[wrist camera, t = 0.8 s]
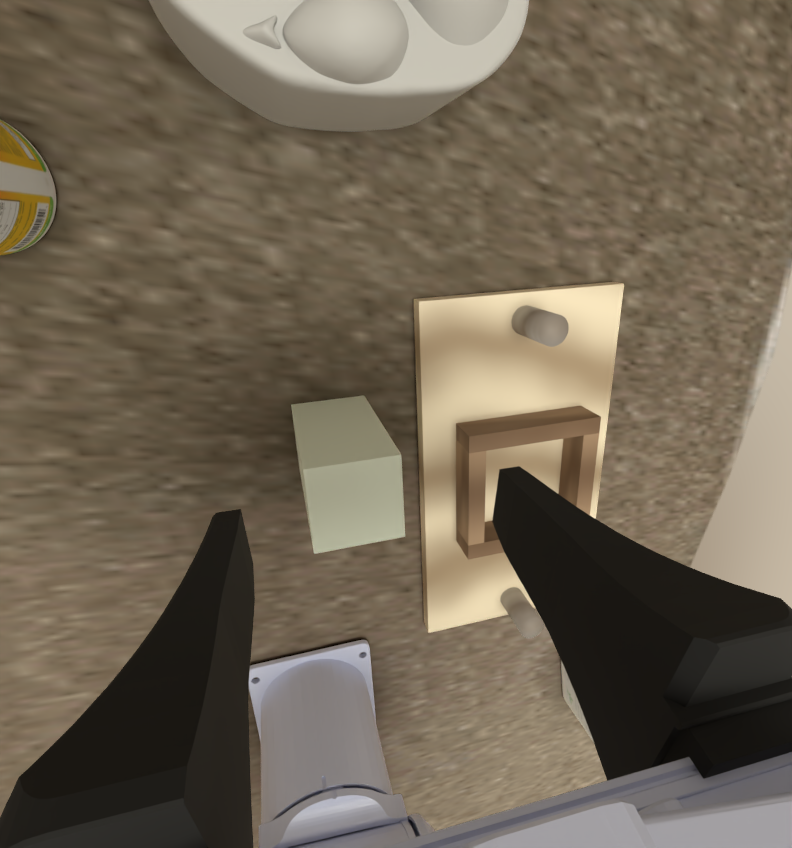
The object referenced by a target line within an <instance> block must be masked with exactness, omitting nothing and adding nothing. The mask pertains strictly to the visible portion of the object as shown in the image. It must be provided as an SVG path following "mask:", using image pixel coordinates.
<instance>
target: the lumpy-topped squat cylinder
mask: <svg viewBox="0 0 792 848" xmlns="http://www.w3.org/2000/svg"><path fill="white" fill-rule="evenodd" d="M149 2H150V4H151V6H152V8H153V10H154V12H155V14H156V16H157V17H158V19H159V21H160V23H161V24H162V26H163V27H164V29H165V30H166V32H167V33H168V35H169V36H170V38H171V39H172V40H173V42H174V43H175V44H176V46H177V47H178V48H179V49H180V51H181V52H182V53H183V54H184V56H185V57H186V58H187V59H188V60H189V62H190V63H191V64H192V65H193V66H194V67H195V68H196V69H197V70H198V71H199V72H200V73H201V74H202V75H203V76H204V77H205V78H207V79H208V80H209V81H210V82H212V83H213V84H214V85H215V86H217V87H218V88H219V89H221V90H222V91H224V92H225V93H226V94H228V95H229V96H231V97H232V98H234V99H235V100H237V101H238V102H240V103H241V104H243V105H244V106H246V107H247V108H249V109H251V110H252V111H254V112H255V113H257V114H259V115H261V116H262V117H264V118H266V119H268V120H270V121H272V122H274V123H277V124H281V125H285V126H290V127H296V128H304V129H312V130H324V131H342V132H360V131H370V130H387V129H396V128H402V127H406V126H410V125H412V124H415V123H417V122H419V121H421V120H423V119H425V118H426V117H428V116H429V115H431V114H433V113H434V112H436V111H437V110H439V109H440V108H442V107H443V106H445V105H447V104H448V103H450V102H451V101H453V100H454V99H456V98H457V97H459V96H460V95H462V94H464V93H465V92H467V91H468V90H469V89H471V88H472V87H474V86H476V85H477V84H479V83H481V82H482V81H484V80H485V79H487V78H488V77H489V76H491V75H492V74H493V73H494V72H495V71H496V70H497V69H498V68H499V67H500V66H501V65H502V64H503V63H504V61H505V60H506V59H507V58H508V56H509V55H510V54H511V52H512V51H513V49H514V48H515V46H516V44H517V42H518V41H519V39H520V36H521V34H522V31H523V28H524V25H525V21H526V17H527V12H528V4H529V0H149Z"/></svg>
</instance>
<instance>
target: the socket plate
mask: <svg viewBox="0 0 792 848" xmlns="http://www.w3.org/2000/svg"><path fill="white" fill-rule="evenodd" d="M623 289H624V284H623V283H617V282H605V283H594V284H582V285H571V286H559V287H547V288H536V289H524V290H512V291H501V292H489V293H478V294H466V295H454V296H443V297H431V298H419V299H413V300H414V331H415V361H416V392H417V423H418V453H419V484H420V515H421V545H422V576H423V607H424V624H425V626H426V628H427V631H428V633H431V632H435V631H439V630H444V629H448V628H452V627H456V626H461V625H465V624H469V623H474V622H478V621H482V620H486V619H491V618H495V617H499V616H503V615H508V614H509V616H510V617H511V619H512V620H513V622H514V624H515V625H516V627H517V628H518V630H519V631H520V633H521V634H522V636H523V637H525V638H533V637H535V636H537V635H538V634H540V633H541V631H542V630H543V627H544V622H543V621H542V619H541V618H540V616H539V615H538V614H537V612H536V611H535V610H534V608H536V607H535V606H534V604H533V602H532V600H531V599H530V597H529V595H528V593H527V592H526V590H525V588H524V586H523V585H522V583H521V581H520V579H519V578H518V576H517V574H516V572H515V570H514V569H513V567H512V565H511V563H510V562H509V560H508V558H507V556H506V554H505V552H504V550H503V548H502V545H501V543H500V541H499V538H498V535H497V533H496V530H495V528H494V525H493V523H492V519H493V512H494V505H495V498H496V491H497V483H498V476H499V469H504V468H511V467H517V466H520V467H521V468H523V469H524V470H526V471H527V472H528V473H530V474H531V475H533V476H534V477H535V478H537V479H538V480H540V481H541V482H542V483H544V484H545V485H547V486H548V487H549V488H551V489H552V490H553V491H555V492H556V493H558V494H559V495H560V496H562V497H563V498H565V499H566V500H568V501H569V502H571V503H572V504H573V505H575V506H576V507H578V508H579V509H581V510H582V511H584V512H585V513H587V514H588V515H590V516H592V517H593V518H595V519H596V512H597V503H598V495H599V487H600V479H601V470H602V462H603V454H604V445H605V437H606V429H607V421H608V412H609V404H610V396H611V388H612V379H613V371H614V363H615V355H616V346H617V338H618V330H619V322H620V313H621V305H622V297H623Z"/></svg>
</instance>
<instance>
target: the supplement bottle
mask: <svg viewBox="0 0 792 848" xmlns="http://www.w3.org/2000/svg"><path fill="white" fill-rule="evenodd" d="M55 211H56V190H55V185H54V182H53V178H52V176H51V173H50V171H49V169H48V167H47V165H46V163H45V161H44V160H43V158H42V157H41V155H40V154H39V152H38V151H37V150H36V149H35V147H34V146H33V145H32V144H31V143H30V142H29V141H28V140H27V139H26V138H25V137H24V136H23V135H22V134H21V133H20V132H19V131H17V130H16V129H15V128H13V127H12V126H10V125H9V124H7V123H6V122H4V121H2V120H0V255H7V254H11V253H15V252H19V251H22V250H24V249H26V248H28V247H30V246H32V245H34V244H35V243H36V242H38V241H39V240H40V239H41V238H42V237H43V236H44V235H45V234H46V232H47V231H48V229H49V228H50V226H51V224H52V222H53V219H54V216H55Z"/></svg>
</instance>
